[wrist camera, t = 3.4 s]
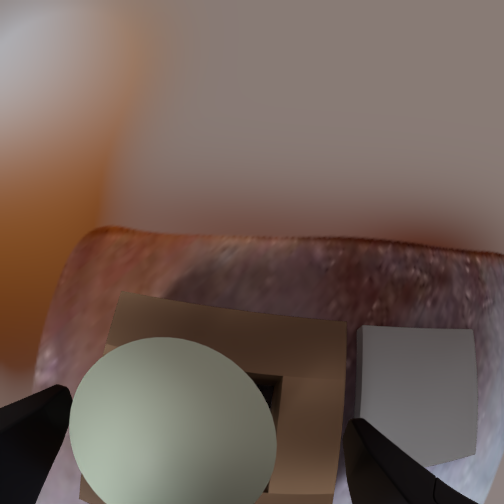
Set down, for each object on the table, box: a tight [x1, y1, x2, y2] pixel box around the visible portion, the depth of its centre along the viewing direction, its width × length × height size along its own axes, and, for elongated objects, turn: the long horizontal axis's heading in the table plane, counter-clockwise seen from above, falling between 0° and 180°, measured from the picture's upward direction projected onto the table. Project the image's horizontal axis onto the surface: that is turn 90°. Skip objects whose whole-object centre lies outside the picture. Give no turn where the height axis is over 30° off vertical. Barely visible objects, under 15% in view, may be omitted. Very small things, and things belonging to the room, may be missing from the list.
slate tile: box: [354, 325, 478, 467], centre depth 14 cm, size 9×9×1 cm
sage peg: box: [69, 337, 277, 504], centre depth 9 cm, size 4×4×12 cm
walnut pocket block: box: [79, 291, 347, 504], centre depth 12 cm, size 11×11×4 cm
